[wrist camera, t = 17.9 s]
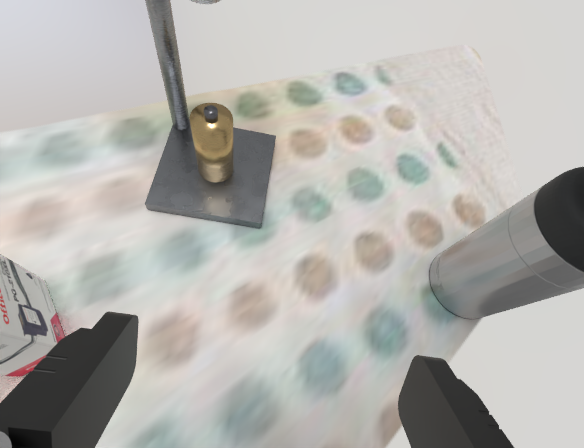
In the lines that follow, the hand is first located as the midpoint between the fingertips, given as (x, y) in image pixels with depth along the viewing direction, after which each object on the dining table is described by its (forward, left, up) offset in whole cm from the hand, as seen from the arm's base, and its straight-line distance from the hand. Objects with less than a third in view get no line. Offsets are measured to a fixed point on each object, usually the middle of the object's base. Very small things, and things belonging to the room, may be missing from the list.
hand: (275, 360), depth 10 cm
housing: (+8, -24, -27) cm, 37 cm away
